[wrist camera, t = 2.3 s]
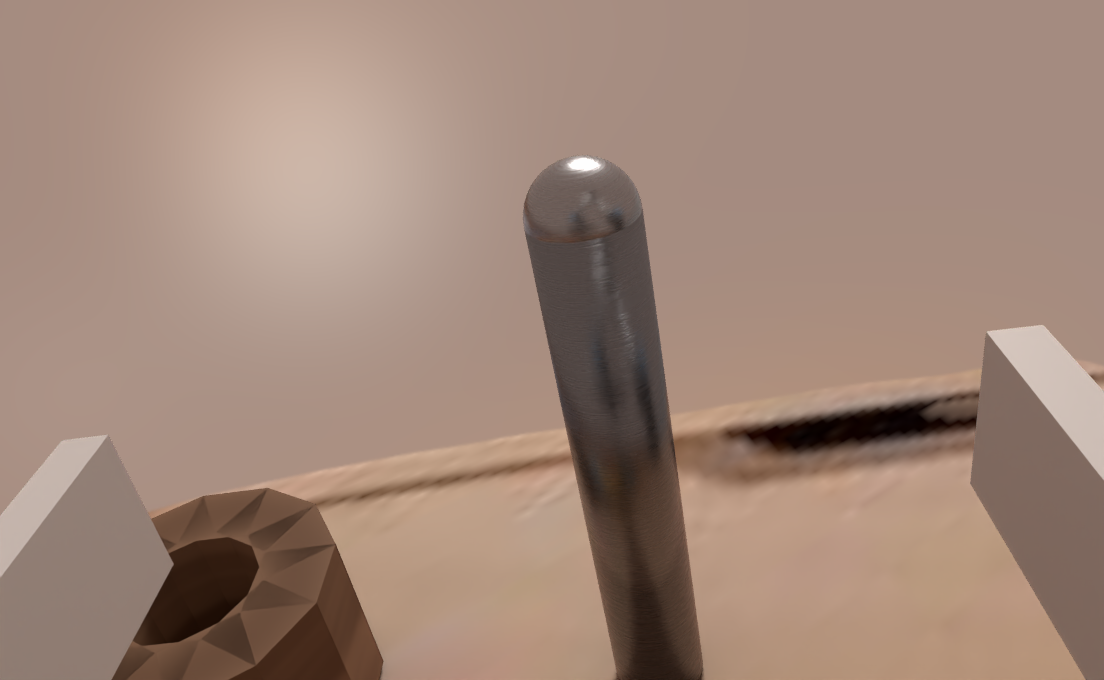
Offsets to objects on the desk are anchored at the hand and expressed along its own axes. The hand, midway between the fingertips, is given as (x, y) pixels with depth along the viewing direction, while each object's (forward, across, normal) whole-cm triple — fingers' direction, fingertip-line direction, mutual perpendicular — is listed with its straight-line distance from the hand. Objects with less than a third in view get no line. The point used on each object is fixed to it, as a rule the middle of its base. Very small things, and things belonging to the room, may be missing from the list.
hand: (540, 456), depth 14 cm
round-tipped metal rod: (+10, +1, -17) cm, 20 cm away
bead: (+10, -14, -18) cm, 25 cm away
